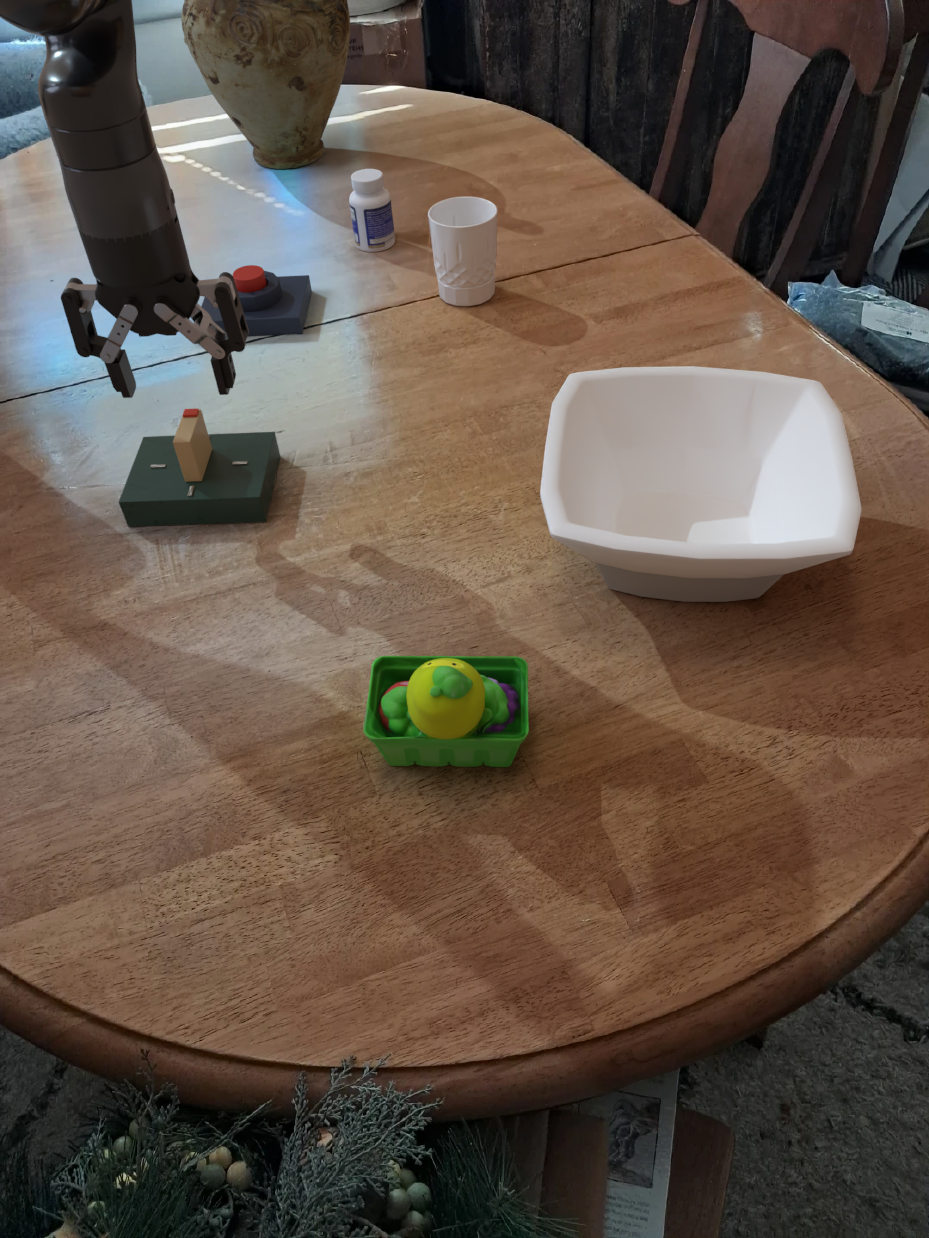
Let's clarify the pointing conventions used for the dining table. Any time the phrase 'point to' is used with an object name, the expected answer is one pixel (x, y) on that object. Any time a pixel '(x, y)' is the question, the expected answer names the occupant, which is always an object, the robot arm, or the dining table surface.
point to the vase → (272, 69)
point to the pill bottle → (371, 211)
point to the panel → (202, 482)
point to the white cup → (464, 249)
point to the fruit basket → (448, 709)
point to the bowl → (698, 479)
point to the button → (249, 278)
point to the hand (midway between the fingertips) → (178, 391)
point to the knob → (192, 445)
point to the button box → (272, 306)
